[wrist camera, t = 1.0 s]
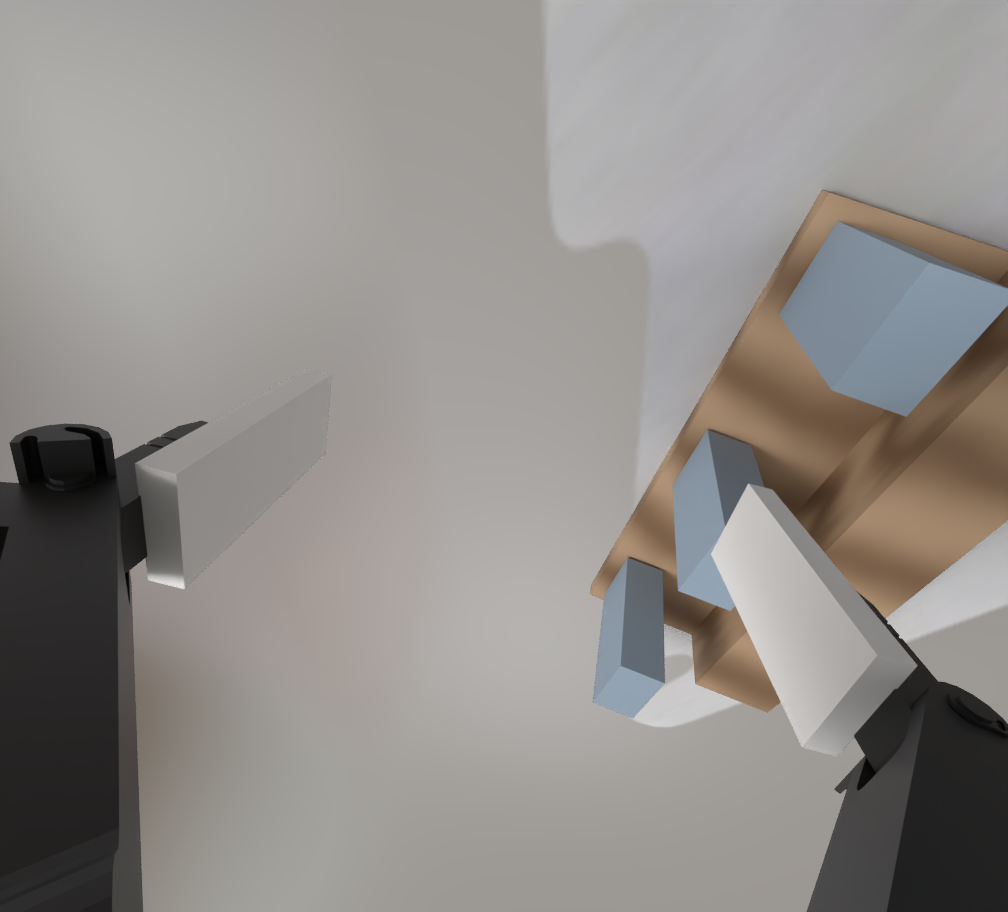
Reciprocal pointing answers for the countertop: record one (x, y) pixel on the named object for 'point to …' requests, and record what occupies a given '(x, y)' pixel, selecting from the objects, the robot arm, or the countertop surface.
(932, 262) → the key
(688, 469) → the key middle
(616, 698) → the key
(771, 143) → the countertop surface
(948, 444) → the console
